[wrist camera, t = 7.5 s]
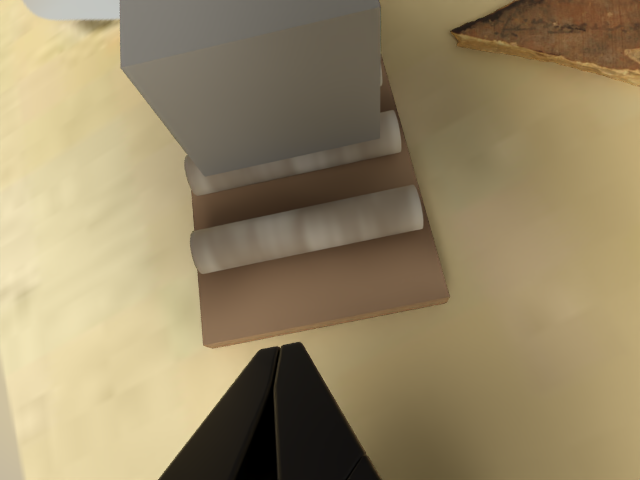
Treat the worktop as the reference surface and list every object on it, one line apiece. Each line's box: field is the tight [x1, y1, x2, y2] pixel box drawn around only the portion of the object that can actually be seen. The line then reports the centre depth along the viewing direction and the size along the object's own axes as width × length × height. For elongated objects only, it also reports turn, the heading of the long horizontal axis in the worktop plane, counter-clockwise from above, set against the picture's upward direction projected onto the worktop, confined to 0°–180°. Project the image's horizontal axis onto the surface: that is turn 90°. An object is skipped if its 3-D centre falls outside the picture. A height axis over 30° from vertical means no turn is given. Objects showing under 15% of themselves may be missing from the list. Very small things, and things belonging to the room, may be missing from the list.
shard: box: [450, 0, 640, 86], centre depth 25 cm, size 11×8×2 cm
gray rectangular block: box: [120, 0, 381, 177], centre depth 18 cm, size 10×8×7 cm
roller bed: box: [185, 56, 450, 349], centre depth 21 cm, size 21×11×8 cm, turn 10°
